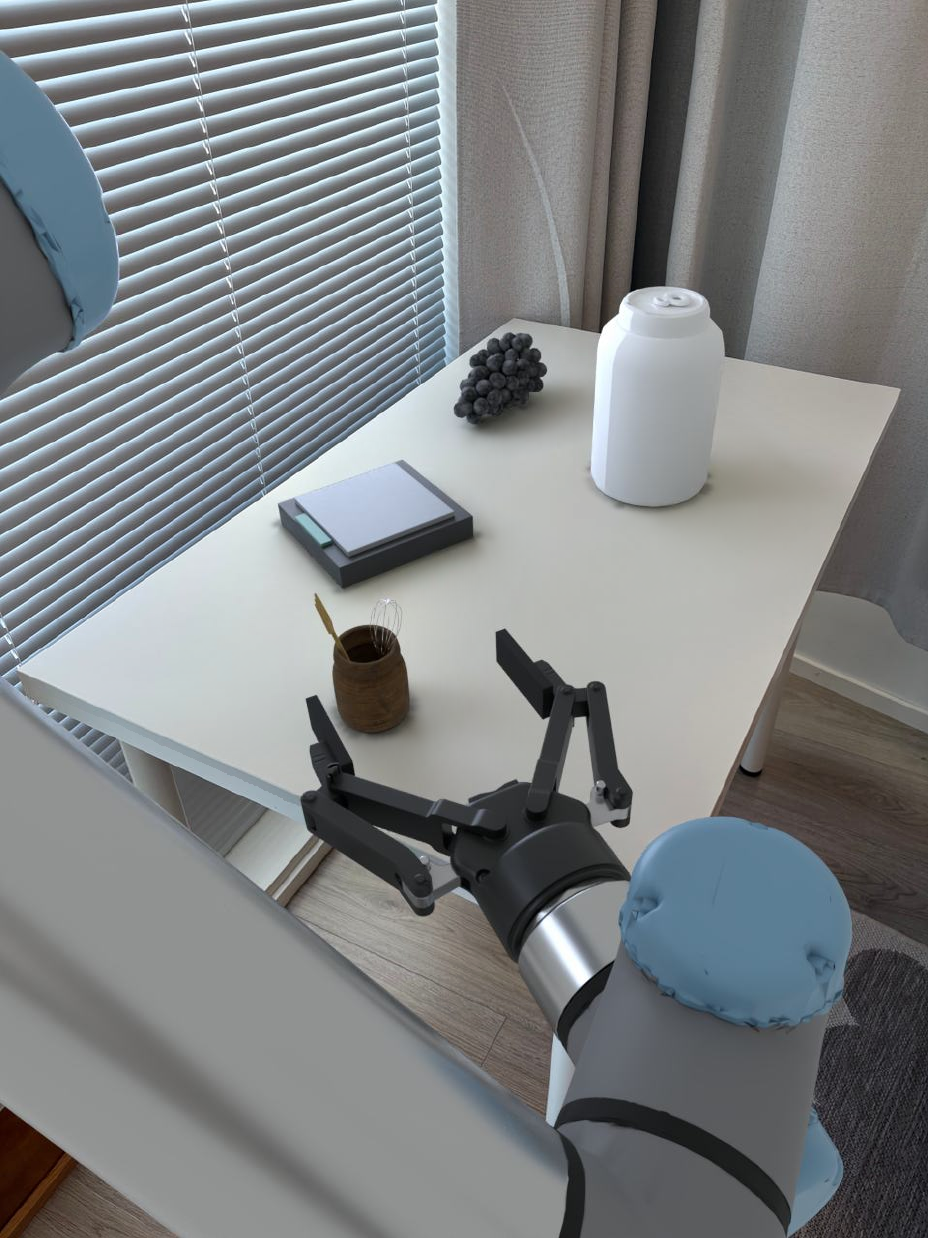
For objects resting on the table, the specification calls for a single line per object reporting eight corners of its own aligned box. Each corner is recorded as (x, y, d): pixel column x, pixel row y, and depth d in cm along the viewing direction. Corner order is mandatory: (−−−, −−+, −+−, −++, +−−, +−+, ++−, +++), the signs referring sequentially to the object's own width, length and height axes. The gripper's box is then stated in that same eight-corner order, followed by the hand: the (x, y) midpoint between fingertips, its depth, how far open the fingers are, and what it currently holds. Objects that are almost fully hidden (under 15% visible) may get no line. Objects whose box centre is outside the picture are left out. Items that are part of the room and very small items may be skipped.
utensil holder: (415, 730, 76) (403, 612, 68) (336, 740, 75) (315, 623, 67) (407, 680, 80) (395, 565, 73) (332, 690, 80) (313, 575, 72)
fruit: (467, 366, 107) (547, 319, 115) (417, 370, 112) (497, 326, 121) (488, 437, 110) (564, 388, 119) (439, 438, 116) (515, 391, 125)
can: (674, 442, 110) (695, 268, 97) (727, 497, 100) (757, 312, 88) (573, 461, 107) (580, 285, 95) (617, 519, 98) (632, 331, 85)
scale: (342, 589, 90) (338, 562, 88) (281, 523, 100) (276, 498, 98) (473, 536, 96) (472, 510, 94) (404, 479, 106) (402, 454, 104)
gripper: (356, 1072, 47) (239, 782, 62) (761, 873, 55) (570, 659, 70) (337, 992, 42) (215, 699, 57) (782, 787, 50) (572, 577, 65)
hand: (410, 676), depth 63 cm, fingers open, 13 cm apart
